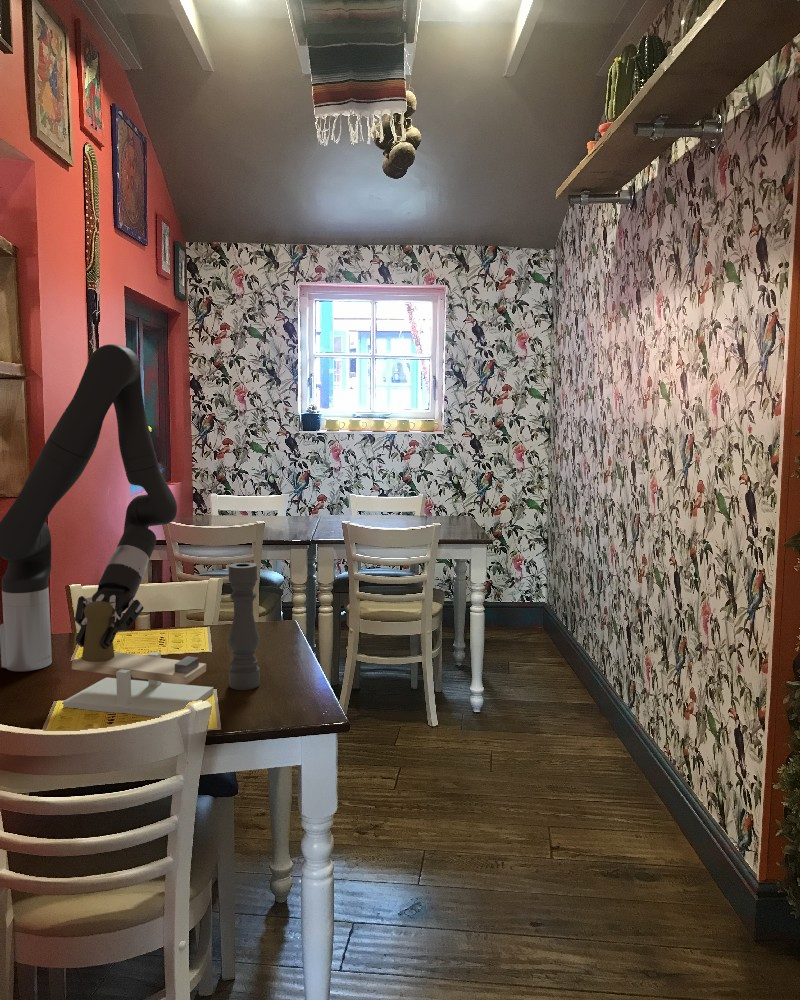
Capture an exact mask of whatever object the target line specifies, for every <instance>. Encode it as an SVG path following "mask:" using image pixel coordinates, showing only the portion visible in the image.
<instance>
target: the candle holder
mask: <svg viewBox="0 0 800 1000" xmlns="http://www.w3.org/2000/svg"><path fill="white" fill-rule="evenodd" d="M257 581H258V565H257V563H255V562H254V563H253V562H235V563H231V564H229V565H228V582H229V584H230V586H231V589H232V593H231V594H230V595H229V598H230V599H231V600H232V602H233V619H232V622H231V623H232V624H231V628H230V633H229V636H228V646H229V647H230V649H231V650H232V651H233V652H232V654H233V655H234V656H233V658H232V659H231V660H230V663H229V665H230V668H229V670H228V683H229V684H228V685H229V688H231V689H232V690H237V691H248V690H253V689H256V688H258V687H259V686H260V683H261V682H260V681H261V680H260V679H261V678H260V677H261V676H260V675H261V673H260V671H261V670H260V667H259V666H258V665H259V660H258V659H257V657H256V655H254V654H255V653H256V650H257V648H258V646H259V643H260V636H259V633H258V628H257V625H256V621H255V617H254V600H255V599H256V598H257V593H256V592H255V591H254V589H255V586H256V585H257Z"/></svg>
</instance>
